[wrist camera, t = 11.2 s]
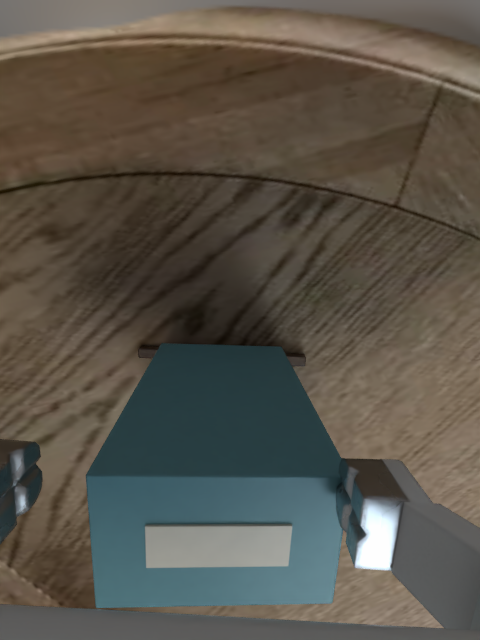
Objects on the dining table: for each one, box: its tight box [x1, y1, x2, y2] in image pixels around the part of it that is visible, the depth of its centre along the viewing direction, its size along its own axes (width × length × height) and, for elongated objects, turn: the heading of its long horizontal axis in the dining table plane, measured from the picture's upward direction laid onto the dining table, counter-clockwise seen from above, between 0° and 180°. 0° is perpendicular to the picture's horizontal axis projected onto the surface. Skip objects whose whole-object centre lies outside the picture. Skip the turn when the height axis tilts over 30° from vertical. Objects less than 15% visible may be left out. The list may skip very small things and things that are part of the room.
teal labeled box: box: [86, 343, 343, 608], centre depth 15 cm, size 11×7×4 cm
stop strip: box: [138, 346, 306, 366], centre depth 20 cm, size 1×10×1 cm, turn 87°
